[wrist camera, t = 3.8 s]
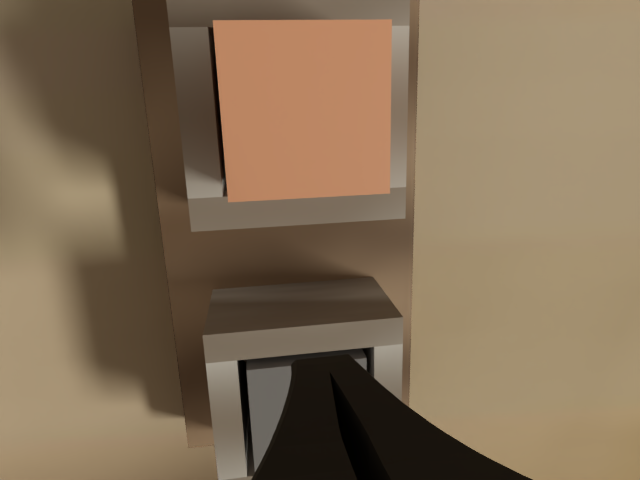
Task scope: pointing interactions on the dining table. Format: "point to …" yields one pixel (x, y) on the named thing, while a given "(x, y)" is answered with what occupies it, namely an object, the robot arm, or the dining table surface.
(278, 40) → the terracotta plunger
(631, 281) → the dining table surface
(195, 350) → the press board
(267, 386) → the grey cube
